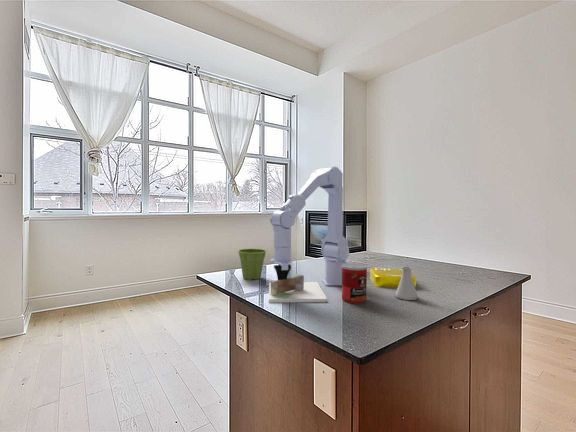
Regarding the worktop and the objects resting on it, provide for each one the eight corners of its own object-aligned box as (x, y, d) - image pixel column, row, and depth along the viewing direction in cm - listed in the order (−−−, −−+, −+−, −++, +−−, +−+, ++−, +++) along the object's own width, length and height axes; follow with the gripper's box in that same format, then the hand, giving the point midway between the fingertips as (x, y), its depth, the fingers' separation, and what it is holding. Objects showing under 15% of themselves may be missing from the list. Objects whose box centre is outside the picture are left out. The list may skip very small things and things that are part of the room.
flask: (417, 295, 102) (418, 265, 102) (418, 302, 95) (419, 270, 95) (394, 293, 104) (395, 264, 104) (394, 299, 98) (395, 268, 97)
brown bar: (298, 286, 106) (299, 273, 106) (305, 288, 104) (306, 275, 103) (269, 292, 98) (269, 279, 98) (275, 295, 96) (275, 281, 95)
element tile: (375, 287, 112) (375, 275, 112) (369, 278, 127) (369, 266, 127) (417, 289, 111) (417, 276, 110) (406, 279, 125) (406, 267, 125)
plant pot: (265, 281, 118) (265, 253, 117) (234, 281, 118) (234, 252, 118) (267, 274, 130) (268, 248, 129) (240, 274, 130) (240, 248, 129)
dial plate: (317, 284, 114) (317, 281, 114) (326, 302, 94) (326, 298, 94) (269, 285, 113) (269, 281, 113) (268, 302, 93) (268, 298, 93)
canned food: (352, 305, 92) (353, 269, 91) (336, 297, 99) (336, 264, 98) (371, 301, 95) (372, 266, 95) (354, 294, 102) (355, 262, 102)
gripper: (268, 243, 108) (268, 281, 108) (272, 250, 93) (272, 293, 94) (288, 243, 109) (288, 280, 109) (294, 249, 94) (294, 292, 95)
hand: (282, 286), depth 102 cm, fingers closed, pressing on brown bar
